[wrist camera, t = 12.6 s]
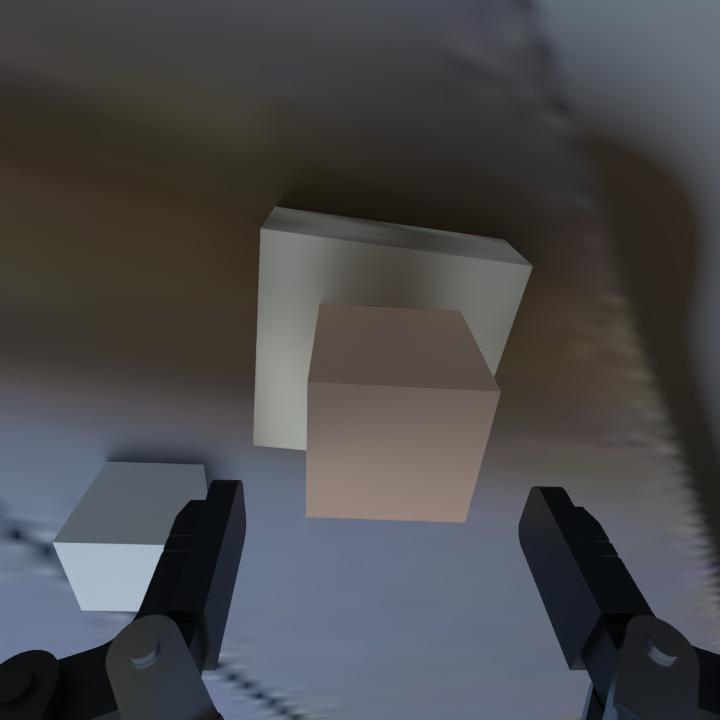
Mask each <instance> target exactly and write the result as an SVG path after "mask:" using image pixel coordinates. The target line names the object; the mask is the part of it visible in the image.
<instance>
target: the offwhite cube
mask: <svg viewBox="0 0 720 720" xmlns="http://www.w3.org/2000/svg"><path fill="white" fill-rule="evenodd" d="M207 493H208V491H207V485H206V478H205V471H204V465H199V464H169V463H138V462H107V461H106V462H105V464H104V465H103V467H102V468H101V470H100V471H99V473H98V474H97V476H96V477H95V479H94V481H93V482H92V484H91V485H90V487H89V488H88V490H87V491H86V493H85V494H84V496H83V497H82V499H81V500H80V502H79V503H78V505H77V506H76V508H75V509H74V511H73V512H72V514H71V515H70V517H69V518H68V520H67V522H66V523H65V525H64V526H63V528H62V529H61V531H60V532H59V534H58V535H57V537H56V538H55V540H54V541H53V544H54V547H55V549H56V551H57V554H58V556H59V558H60V561H61V563H62V565H63V568H64V570H65V572H66V575H67V577H68V579H69V582H70V584H71V586H72V589H73V591H74V593H75V596H76V598H77V600H78V603H79V605H80V607H81V610H88V611H139V609H140V606H141V604H142V601H143V599H144V596H145V594H146V591H147V589H148V586H149V584H150V581H151V578H152V576H153V573H154V571H155V568H156V566H157V563H158V561H159V558H160V556H161V553H163V548H164V546H165V543H166V541H167V538H168V537H169V533H170V530H171V528H172V525H173V523H174V520H175V518H176V515H177V514H178V513H179V512H180V511H181V510H182V509H183V508H184V507H185V505H186V504H187V503H188V502H189V501H190V500H205V499H206V496H207Z"/></svg>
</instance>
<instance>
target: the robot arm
mask: <svg viewBox="0 0 720 720" xmlns="http://www.w3.org/2000/svg"><path fill="white" fill-rule="evenodd" d="M245 532H246V513H245V503H244V493H243V484H242V481H241V480H213V481H212V482H211V485H210V487H209V490H208V493H207V496H206V499H205V500H190V501H189V502H188V503H187V504H186V505H185V507H184V508H183V509H182V510H181V511H180V512H179V513H178V514H177V515H176V518H175V520H174V523H173V525H172V528H171V530H170V533H169V537H168V538H167V541H166V543H165V546H164V548H163V553H161V556H160V558H159V561H158V563H157V566H156V568H155V571H154V573H153V576H152V578H151V581H150V584H149V586H148V589H147V591H146V594H145V596H144V599H143V601H142V604H141V606H140V609H139V611H138V613H137V615H136V616H135V618H134V620H133V621H132V622H131V623H130V624H129V625H127V626H126V627H125V628H124V629H122V631H121V632H120V633H119V634H118V635H117V636H116V637H115V638H114V639H113V640H111V641H109V642H108V643H106V644H104V645H102V646H99V647H96V648H94V649H91V650H87V651H84V652H81V653H78V654H75V655H72V656H69V657H66V658H63V659H59V660H57V659H56V658H55V656H53V655H52V654H51V653H49V652H47V651H43V650H31V651H26V652H23V653H20V654H18V655H15V656H13V657H11V658H10V659H8V660H6V661H5V662H3V663H2V664H0V720H224V719H223V717H222V715H221V714H220V713H218V711H217V710H216V708H215V706H214V704H213V702H212V700H211V698H210V695H209V693H208V691H207V689H206V687H205V684H204V682H203V680H202V678H201V675H202V671H203V670H216V667H217V662H218V658H219V653H220V649H221V644H222V640H223V635H224V631H225V626H226V622H227V617H228V613H229V608H230V604H231V599H232V595H233V590H234V585H235V581H236V576H237V572H238V567H239V563H240V558H241V554H242V549H243V545H244V540H245ZM519 540H520V544H521V547H522V550H523V552H524V555H525V557H526V560H527V563H528V565H529V568H530V570H531V573H532V575H533V578H534V580H535V583H536V585H537V588H538V590H539V593H540V596H541V598H542V601H543V603H544V606H545V608H546V611H547V613H548V616H549V618H550V621H551V623H552V626H553V629H554V631H555V634H556V636H557V639H558V641H559V644H560V646H561V649H562V651H563V654H564V656H565V659H566V662H567V664H568V667H569V669H570V670H587V671H588V674H589V676H590V678H591V681H592V683H591V684H590V686H589V689H588V693H587V697H586V702H585V706H584V710H583V714H582V718H581V720H720V655H719V654H716V653H712V652H709V651H706V650H703V649H700V648H697V647H695V646H692V645H691V644H690V642H689V641H688V640H687V639H686V638H685V637H684V635H683V634H682V633H680V632H679V631H678V630H677V629H676V628H674V627H673V626H672V625H670V624H669V623H667V622H665V621H663V620H661V619H659V618H656V616H655V615H654V613H653V612H652V610H651V609H650V607H649V605H648V604H647V602H646V600H645V599H644V597H643V595H642V594H641V592H640V590H639V589H638V587H637V585H636V584H635V582H634V580H633V579H632V577H631V575H630V574H629V572H628V570H627V569H626V567H625V565H624V564H623V562H622V560H621V559H620V558H618V553H617V552H616V550H615V548H614V547H613V545H612V543H609V538H608V537H607V535H606V533H605V532H604V530H603V528H602V527H601V525H600V523H599V522H598V521H597V520H596V519H595V518H594V517H593V516H592V515H591V514H590V513H588V512H587V511H586V510H585V509H584V508H583V507H574V505H573V503H572V501H571V500H570V498H569V496H568V494H567V492H566V491H565V490H564V489H563V488H562V487H539V486H534V487H532V489H531V490H530V493H529V496H528V499H527V502H526V505H525V508H524V511H523V513H522V516H521V519H520V522H519Z"/></svg>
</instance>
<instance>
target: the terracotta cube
mask: <svg viewBox="0 0 720 720" xmlns="http://www.w3.org/2000/svg"><path fill="white" fill-rule="evenodd" d="M500 393H501V391H500V389H499V387H498V385H497V383H496V381H495V379H494V377H493V375H492V373H491V371H490V369H489V367H488V365H487V363H486V361H485V359H484V357H483V355H482V353H481V351H480V349H479V347H478V345H477V343H476V341H475V339H474V337H473V335H472V333H471V331H470V329H469V326H468V324H467V322H466V320H465V318H464V316H463V314H462V312H461V311H444V310H427V309H410V308H392V307H375V306H357V305H340V304H322V303H320V304H319V310H318V317H317V323H316V329H315V336H314V342H313V349H312V355H311V362H310V368H309V375H308V381H307V454H306V517H319V518H348V519H376V520H405V521H434V522H462V523H465V521H466V517H467V514H468V510H469V506H470V503H471V499H472V495H473V492H474V488H475V484H476V481H477V477H478V474H479V470H480V466H481V463H482V459H483V455H484V452H485V448H486V444H487V441H488V437H489V433H490V430H491V426H492V422H493V419H494V415H495V411H496V408H497V404H498V400H499V397H500Z"/></svg>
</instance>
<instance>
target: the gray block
mask: <svg viewBox="0 0 720 720" xmlns="http://www.w3.org/2000/svg"><path fill="white" fill-rule="evenodd" d="M532 267H533V266H532V265H531V264H530V263H529V262H528V261H527V260H525V259H524V258H523V257H522V256H521V255H520V254H519V253H518V252H517V251H516V250H515V249H514V248H513V247H512V246H511V245H510V244H509V243H508V242H506V241H505V240H504V239H497V238H490V237H484V236H477V235H470V234H463V233H456V232H449V231H442V230H435V229H428V228H421V227H414V226H407V225H400V224H393V223H386V222H379V221H372V220H365V219H358V218H351V217H344V216H337V215H331V214H324V213H317V212H310V211H303V210H296V209H289V208H282V207H274V209H273V210H272V212H271V214H270V215H269V217H268V218H267V220H266V221H265V223H264V224H263V226H262V227H261V233H260V262H259V291H258V320H257V349H256V378H255V407H254V435H253V445H256V446H267V447H277V448H287V449H298V450H307V381H308V375H309V368H310V362H311V355H312V349H313V342H314V336H315V329H316V323H317V317H318V310H319V304H320V303H322V304H340V305H357V306H375V307H392V308H410V309H427V310H444V311H461V312H462V314H463V316H464V318H465V320H466V322H467V324H468V326H469V329H470V331H471V333H472V335H473V337H474V339H475V341H476V343H477V345H478V347H479V349H480V351H481V353H482V355H483V357H484V359H485V361H486V363H487V365H488V367H489V369H490V371H491V373H492V375H493V377H494V376H495V373H496V370H497V367H498V364H499V362H500V359H501V356H502V353H503V350H504V347H505V344H506V342H507V339H508V336H509V333H510V330H511V327H512V324H513V321H514V319H515V316H516V313H517V310H518V307H519V304H520V301H521V299H522V296H523V293H524V290H525V287H526V284H527V281H528V279H529V276H530V273H531V270H532Z"/></svg>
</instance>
